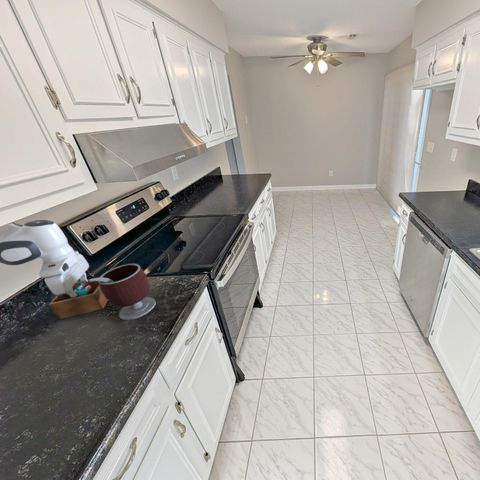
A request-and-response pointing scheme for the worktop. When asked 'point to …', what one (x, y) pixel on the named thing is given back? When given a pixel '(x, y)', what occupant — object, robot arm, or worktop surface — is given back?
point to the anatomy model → (82, 290)
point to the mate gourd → (127, 290)
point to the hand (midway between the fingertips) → (80, 289)
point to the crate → (79, 301)
